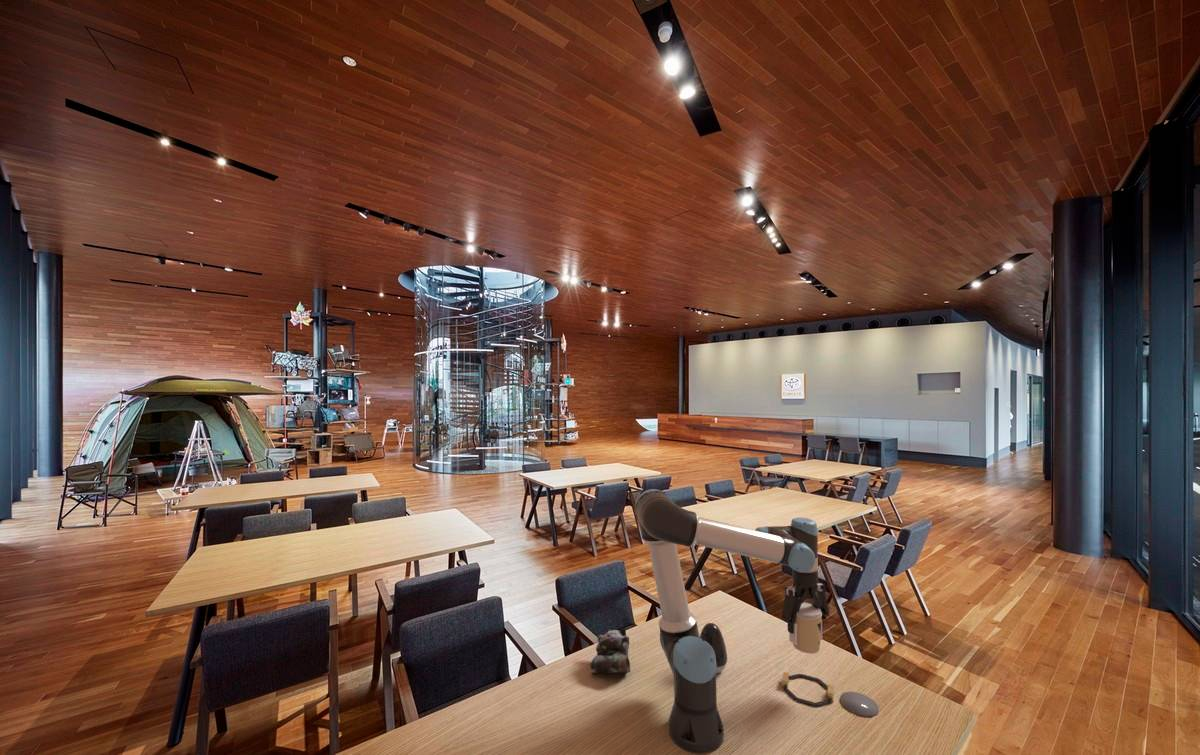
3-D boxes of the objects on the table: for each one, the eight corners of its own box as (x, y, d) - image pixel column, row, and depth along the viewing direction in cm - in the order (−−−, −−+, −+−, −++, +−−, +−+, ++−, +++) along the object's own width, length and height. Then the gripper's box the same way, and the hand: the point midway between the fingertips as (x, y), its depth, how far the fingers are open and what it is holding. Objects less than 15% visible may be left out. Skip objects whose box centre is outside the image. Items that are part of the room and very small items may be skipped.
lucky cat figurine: (582, 672, 155) (585, 625, 162) (606, 672, 162) (608, 628, 169) (614, 677, 145) (616, 627, 152) (638, 677, 153) (639, 629, 160)
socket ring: (805, 710, 135) (804, 701, 136) (774, 681, 149) (774, 673, 149) (843, 700, 139) (843, 692, 139) (810, 672, 153) (809, 665, 153)
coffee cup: (827, 656, 139) (826, 616, 140) (795, 654, 140) (795, 615, 140) (815, 639, 149) (815, 602, 149) (786, 637, 150) (785, 600, 150)
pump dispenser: (690, 668, 156) (689, 623, 157) (708, 656, 163) (707, 613, 163) (715, 682, 149) (714, 635, 149) (733, 669, 156) (732, 624, 156)
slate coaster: (859, 720, 131) (859, 717, 131) (832, 697, 141) (832, 695, 141) (886, 712, 134) (886, 710, 134) (858, 690, 144) (858, 688, 144)
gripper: (784, 577, 138) (785, 652, 138) (841, 569, 144) (842, 641, 144) (768, 568, 145) (769, 639, 145) (823, 560, 152) (824, 629, 151)
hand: (805, 640), depth 144 cm, fingers closed on coffee cup, 9 cm apart
